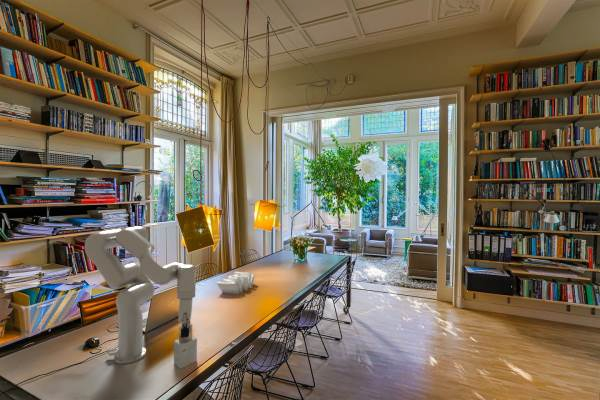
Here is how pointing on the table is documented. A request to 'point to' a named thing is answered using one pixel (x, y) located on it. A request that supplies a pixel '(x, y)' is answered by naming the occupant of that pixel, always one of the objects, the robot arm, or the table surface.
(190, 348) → the small box
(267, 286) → the table surface
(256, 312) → the table surface
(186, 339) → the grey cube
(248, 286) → the wavy white extrusion
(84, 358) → the table surface
